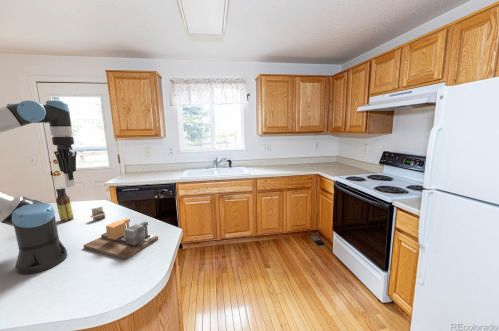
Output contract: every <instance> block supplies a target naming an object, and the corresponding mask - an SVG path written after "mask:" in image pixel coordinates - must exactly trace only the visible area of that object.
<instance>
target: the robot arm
mask: <svg viewBox="0 0 499 331" xmlns="http://www.w3.org/2000/svg"><path fill="white" fill-rule="evenodd" d="M70 113H71V112H70V108H69V104H68V103H67V102H66V101H64V100H46V101H45V104H42V103H40V102H38V101H35V100H23V101H21V102H18V103H7V104H6V106H3V107H0V134H2V133H5V132H8V131H10V130H14V129H17V128H20V127H23V126H27V125H30V124H49V129H50V136H52V137H51V141H52V142H51V143H52V145H53V146H56V151H53V154H54V156H55V158H56V160H57V164H58V167H59V171H60V172H62V173H63V175H64V181H65V186H66V187H65V188H72V187H75V186H76V185H75V179H74V178H75V177H74V172H76V171H77V154H78V153H77V151H74V150H73V147H72V145H75V140H74V136H73V135H74V134H73V128H72V121H71V120H72V119H71V114H70ZM55 212H56V211H55V209H54V206H53V205H52V204H50V203H47V202H44V201H41V200H37V199H31V198H28V197H26V196H23V195H18V196H12V195H9V194H6V193H4V192H1V191H0V223H1V224H5V225H7V226H11V227H13V228H14V233H15V238H16V241H17V246H18V254H17V258H16V262H15V271H16V273H17V274H19V275H31V274H36V273H39V272H42V271H47V270H48V269H51V268H53V267H56V266H58V265H60V263H63V262H64V261H65V260H66V259H67V257H68V250H67V249H66V246H64V244H63V243H62V241H61V239H60V237H59V231H58V225H57V221H56V213H55Z"/></svg>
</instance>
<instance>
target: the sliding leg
mask: <svg viewBox="0 0 499 331" xmlns="http://www.w3.org/2000/svg"><path fill="white" fill-rule="evenodd" d="M130 222H131V219H130V218H129V217H126V218H124V219H122V220H116V221H114V222H112V223H110V224H107V225H105V229H106V232H107V238H110V239H114V240H116V239H118V238H120V237H122V236H124V235H125V232H124V230H125V229H127V228H129V227H131V226H130Z"/></svg>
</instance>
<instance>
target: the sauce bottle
mask: <svg viewBox="0 0 499 331" xmlns="http://www.w3.org/2000/svg"><path fill="white" fill-rule="evenodd" d="M55 191H56V195H57V198H56V200H55V201H56V207H57V213H58V215H59V219H60V221H61V222H62V223H63V222H70V221H72V220H74V212H73V206H72V202H71V199H70V196H68V195H67V193H66V187H64V186H63V187H58V188H56V189H55Z"/></svg>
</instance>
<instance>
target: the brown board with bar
mask: <svg viewBox="0 0 499 331" xmlns="http://www.w3.org/2000/svg"><path fill="white" fill-rule="evenodd" d="M148 226H149V222H148V221H143V222H141V223H139V224H137V223H136V224H133V225H131V226H130V227H129V228H127V227H126V229H125V230H124V232H125V235H124V236H122V237H120V238H118V239H116V240H114V239H110V238H107V231H106V232H105V233H102V234H101V235H100V236H99V237H98V238H96V239H94V240H91V241H90V242H87V243H85V244H83V248H84V249H86V250H88V251H93V252H96V253H100V254H103V255H107V256H111V257H114V258H117V259H119V260H125V261H126V260H128V259H129V258H131V257H132V256H133V255H135V254H137V253H139V252H140V251H142V250H144V249H145V248H146V247H149V245H152V244H153V243H154V242H157V241H158V240H159V236H157V234H153V233H149V232H148Z"/></svg>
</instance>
